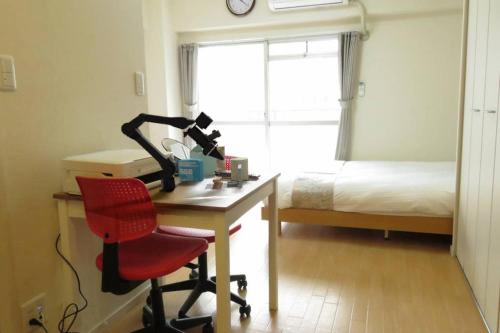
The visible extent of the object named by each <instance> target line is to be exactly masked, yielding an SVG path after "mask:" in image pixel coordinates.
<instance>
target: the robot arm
mask: <svg viewBox="0 0 500 333" xmlns="http://www.w3.org/2000/svg"><path fill="white" fill-rule="evenodd" d="M213 122H214V119H213V118H212V117H211V116H209V115H208V114H207V113H205V112H204V111H201V112H200V113H199V115H198V116H196V118H193V119H190V118H188V117H187V116H164V115H158V114H150V113H146V112H141V113H139V114H138V115H137V116H136V117H134V118H132V119H131V120H129V121H128V122H125V123H124V122H123V123H122V125H121V127H120V132H121V133H122V134H123V135H124V136H126V137H128V138H129V139H131V140H133V141H135V142H136V143H137V144H138V145H139V146H140V147H141V148H142V149H144V150H145V152H147V153H148V155H150V156H151V157H152V158H153V159H154V160H156V162H157V163H158V165H159V166H160V168H161V170H162V171H161V173H160V174H158V175H159V177H160V183H161V184H160V185H161V188H159V189H158V190H159V191H162V192H167V193H168V192H172V191H174V190H176V180H175V176H174V175H175V173H176V172H178V171H179V167H178V161H177V160H175V159H174V158H173V157H172V155H169V156H166V155H165V154H164V153H163V152H162V151H161V150H159V149H158V148H157V147H156V146H155V145H154V144H153V143H152V142H151V141H150V140H148V139H147V138H146V136H144V134H143V133H142V130H140V127H141V126H142V125H143V124H145V123H151V124H152V123H153V124H158V125H166V126H167V125H168V126H171V127H173V128H175V129H179V130H186V131H182V133H183V138H186V137H187V136H188V137H189V138H190V139H191V140H192V141H194V143H195V144H196V145H199V146H200V147H201V148H202V150H203V154H204V155H205V156H206V155H207V154H208V153H209V154H208V156H211V157H214V158H216V159H219V160H222V161H223V160H224V158H223V157H222V155H221V154H220V153H219V152H218V150H217V146H219V144H218V143H219V142H218V141H217V140H216V139H219V138H220V137H222V134H221V132H220V130H219V129H212V130H211V133H210V134H207V133H205V132H204V131H203V130H207V129H208V127H210V125H212V124H213ZM191 126H192V127H191Z"/></svg>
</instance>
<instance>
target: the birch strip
mask: <svg viewBox="0 0 500 333" xmlns="http://www.w3.org/2000/svg"><path fill="white" fill-rule="evenodd" d="M217 150H218V152H219V153H220V154H221V155H222V157H223V158H224V160H223V161H222V160H219V159H216V162H217V172H218V173H226V172H227V168H226V167H227V166H226V148H225V145H218V146H217Z"/></svg>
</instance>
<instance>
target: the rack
mask: <svg viewBox="0 0 500 333" xmlns="http://www.w3.org/2000/svg"><path fill="white" fill-rule="evenodd" d="M213 184H214V183H207V184H206V186H205V187H204V190H215V189H221V190H222V189H239V188H240V189H242V188H244V187H243V186H244V182H243V181H242V164H238V181H234V180H228V181H227V182H223V185H222V188H213Z"/></svg>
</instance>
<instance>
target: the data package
mask: <svg viewBox="0 0 500 333" xmlns="http://www.w3.org/2000/svg"><path fill="white" fill-rule="evenodd" d="M177 164H178V178H179V182H180V183H181V182H203V181H204V180H205V177H204V172H203V161H202V159H190V158H183V159H180V160H179V161H177Z"/></svg>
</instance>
